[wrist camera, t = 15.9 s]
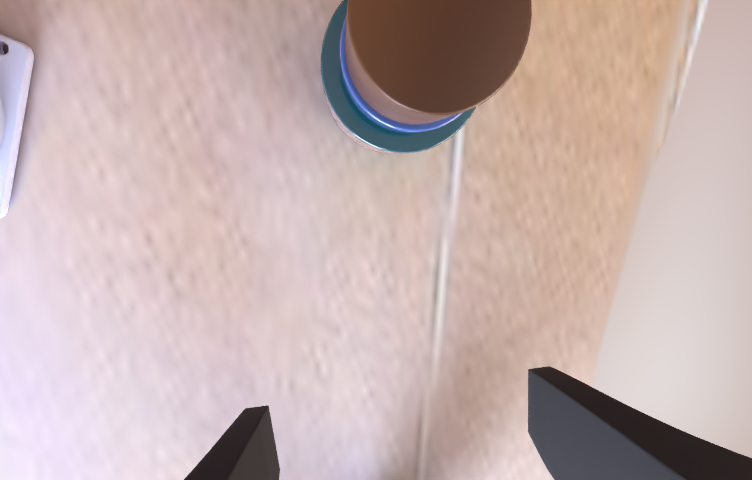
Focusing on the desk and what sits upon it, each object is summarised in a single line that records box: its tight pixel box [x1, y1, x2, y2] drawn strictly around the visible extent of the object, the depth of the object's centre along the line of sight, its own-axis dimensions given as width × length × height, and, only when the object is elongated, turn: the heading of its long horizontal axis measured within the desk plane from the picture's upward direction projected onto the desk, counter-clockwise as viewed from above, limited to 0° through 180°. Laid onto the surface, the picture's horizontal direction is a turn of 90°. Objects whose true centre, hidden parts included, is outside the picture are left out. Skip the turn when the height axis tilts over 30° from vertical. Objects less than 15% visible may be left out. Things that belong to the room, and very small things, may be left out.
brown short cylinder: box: [345, 0, 531, 125], centre depth 11 cm, size 5×5×3 cm
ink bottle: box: [321, 0, 476, 153], centre depth 15 cm, size 6×6×6 cm
